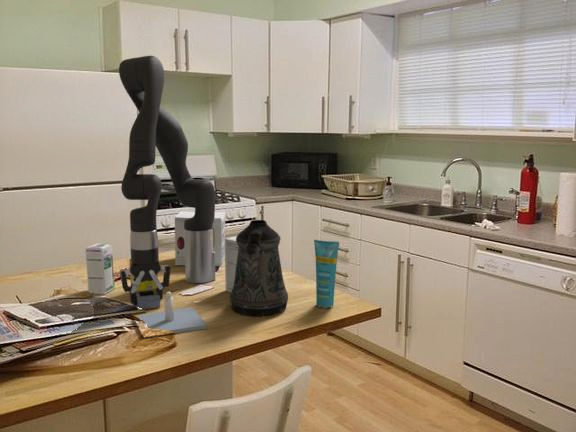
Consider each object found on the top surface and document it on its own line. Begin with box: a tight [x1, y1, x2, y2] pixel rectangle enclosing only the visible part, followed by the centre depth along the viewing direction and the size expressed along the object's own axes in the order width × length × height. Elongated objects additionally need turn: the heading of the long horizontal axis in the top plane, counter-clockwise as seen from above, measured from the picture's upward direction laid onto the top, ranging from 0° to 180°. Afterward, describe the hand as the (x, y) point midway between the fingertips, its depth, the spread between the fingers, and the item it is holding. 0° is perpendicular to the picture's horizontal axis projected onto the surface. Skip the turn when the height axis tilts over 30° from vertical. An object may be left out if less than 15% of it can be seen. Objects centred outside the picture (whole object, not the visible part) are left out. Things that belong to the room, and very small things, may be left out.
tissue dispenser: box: [135, 289, 161, 310], centre depth 154 cm, size 6×6×4 cm
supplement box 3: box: [224, 235, 239, 293], centre depth 168 cm, size 10×9×17 cm
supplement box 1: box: [128, 258, 159, 291], centre depth 166 cm, size 6×6×11 cm
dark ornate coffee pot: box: [229, 219, 289, 318], centre depth 151 cm, size 16×19×25 cm
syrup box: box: [84, 243, 116, 295], centre depth 166 cm, size 6×6×14 cm
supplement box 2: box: [174, 210, 226, 267], centre depth 201 cm, size 17×13×18 cm
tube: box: [313, 239, 340, 308], centre depth 155 cm, size 7×5×19 cm, turn 73°
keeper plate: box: [138, 291, 208, 334], centre depth 141 cm, size 16×14×8 cm
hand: (146, 302), depth 154 cm, fingers closed on tissue dispenser, 6 cm apart
